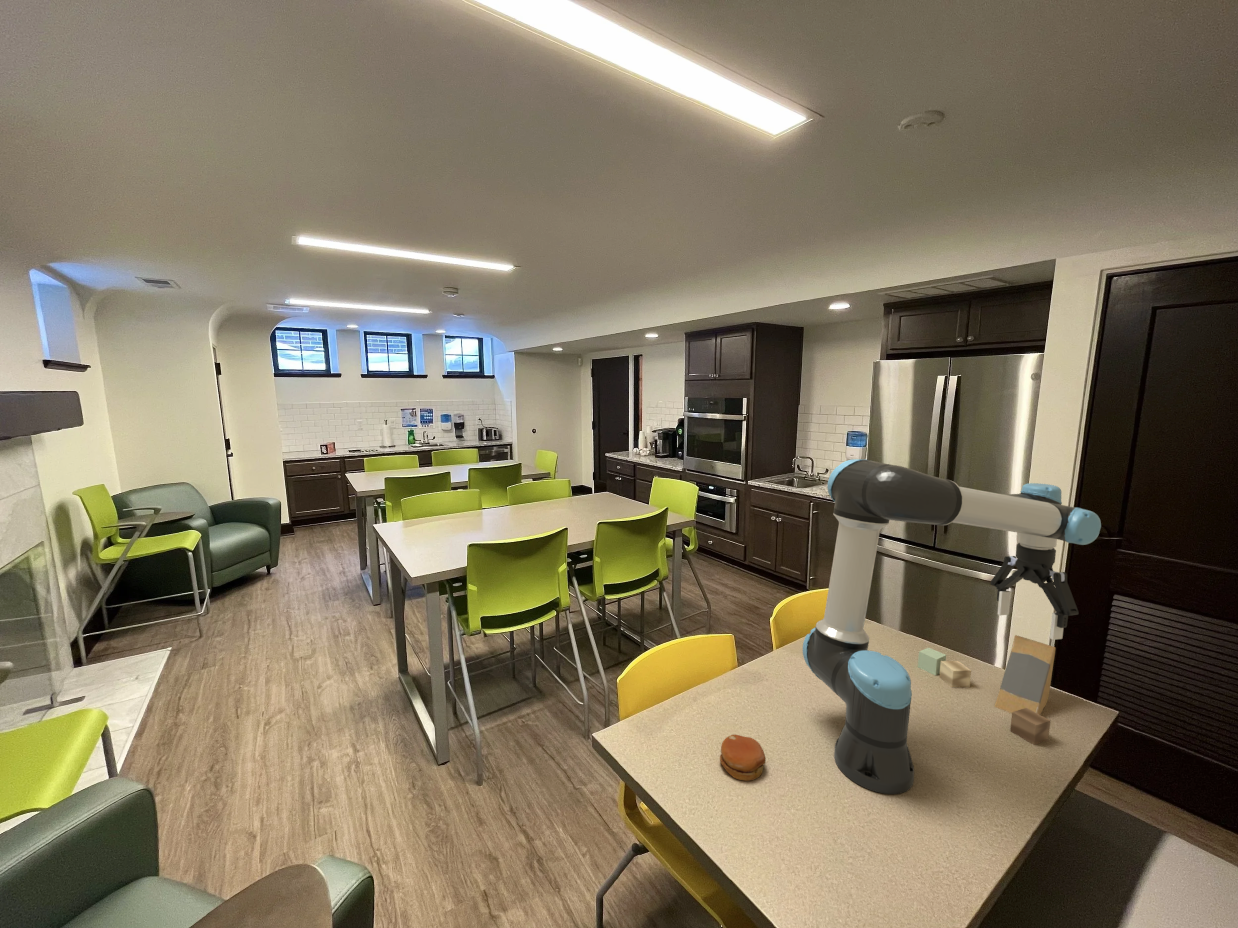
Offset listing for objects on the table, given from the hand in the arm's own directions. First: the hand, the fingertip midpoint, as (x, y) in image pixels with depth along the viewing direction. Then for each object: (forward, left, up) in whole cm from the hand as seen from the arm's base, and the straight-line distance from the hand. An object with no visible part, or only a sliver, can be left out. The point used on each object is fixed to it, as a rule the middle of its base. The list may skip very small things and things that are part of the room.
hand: (1028, 625), depth 124 cm
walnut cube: (-10, -11, -21) cm, 26 cm away
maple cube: (-9, +11, -21) cm, 25 cm away
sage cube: (-10, +18, -21) cm, 29 cm away
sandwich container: (0, 0, -21) cm, 21 cm away
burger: (-81, -9, -21) cm, 84 cm away
